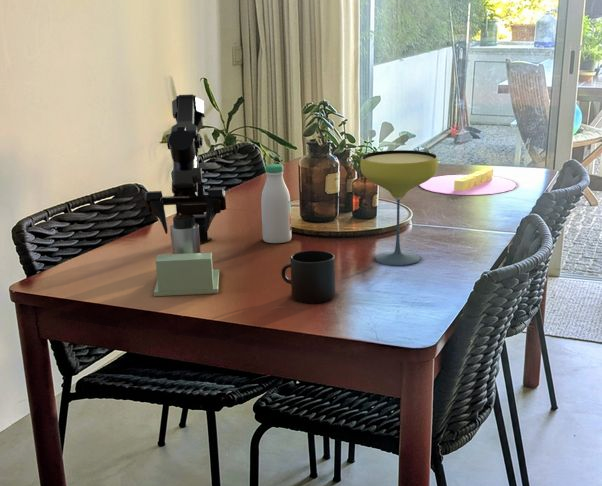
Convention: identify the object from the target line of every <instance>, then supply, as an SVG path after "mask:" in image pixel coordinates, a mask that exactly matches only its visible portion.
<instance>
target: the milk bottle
mask: <svg viewBox="0 0 602 486" xmlns="http://www.w3.org/2000/svg"><path fill="white" fill-rule="evenodd" d="M283 174H284V165H283V164H280V163H271V164H267V165H265V175H266V180H265V184H264V185H263V188H262V191H261V196H260V197H261V199H260V203H261V204H260V206H261V208H260V209H261V233H262V240H263V242H265V243H268V244H283V243H288V242H290V241H291V240H292V212H291V211H292V210H291V208H292V207H291V195H290V191H289V189H288V187H287V185H286V183H285V179H284V176H283Z"/></svg>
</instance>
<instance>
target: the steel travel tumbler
mask: <svg viewBox="0 0 602 486" xmlns="http://www.w3.org/2000/svg"><path fill="white" fill-rule="evenodd" d="M172 223H173V224H171V225H170V226H169V229H170V241H171V243H170V244H171V254H189V253H202V252H201V243H200V237H199V225H198V224H196V223H195V218H194V216H193V215H181V214H180V215H178V216H177V215H175V216H173V217H172Z"/></svg>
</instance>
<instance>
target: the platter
mask: <svg viewBox="0 0 602 486" xmlns="http://www.w3.org/2000/svg"><path fill="white" fill-rule="evenodd" d="M419 187H420V188H422V189H423V190H426V191H429V192H432V193H437V194H445V195H456V196H485V195H486V196H487V195H495V194H496V195H497V194H501V193H506V192H509V191H512V190H514V189H515V188H517V184H516V182H515V181H512V180H510V179H507V178H503V177H499V176H494V169H493V168H481V169H480V170H477V171H475V172H474V171H473V173H469V174H450V175H449V174H448V175H440V176H433V177H432V178H431V179H429V180H428V181H426V182H424V183H422V184H420V185H419Z"/></svg>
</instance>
